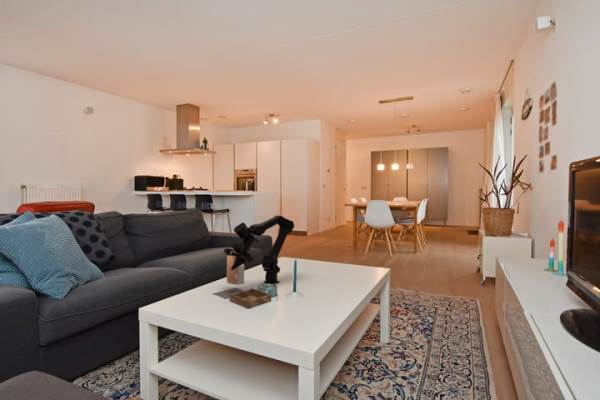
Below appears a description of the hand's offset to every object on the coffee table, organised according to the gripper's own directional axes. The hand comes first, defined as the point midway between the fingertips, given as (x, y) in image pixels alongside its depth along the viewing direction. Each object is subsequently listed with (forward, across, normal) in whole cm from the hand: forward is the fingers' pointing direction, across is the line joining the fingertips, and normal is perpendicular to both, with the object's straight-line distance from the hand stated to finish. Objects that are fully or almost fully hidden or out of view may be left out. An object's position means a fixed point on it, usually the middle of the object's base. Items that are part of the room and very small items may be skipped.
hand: (228, 268), depth 161 cm
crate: (+9, +16, +10) cm, 21 cm away
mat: (+8, 0, +10) cm, 13 cm away
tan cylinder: (+3, 0, +5) cm, 6 cm away
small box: (-2, -14, +21) cm, 25 cm away
